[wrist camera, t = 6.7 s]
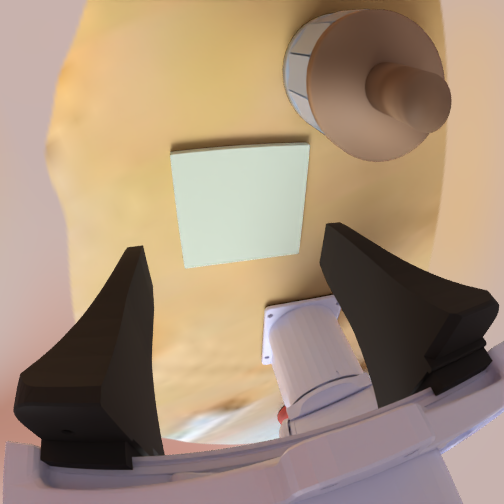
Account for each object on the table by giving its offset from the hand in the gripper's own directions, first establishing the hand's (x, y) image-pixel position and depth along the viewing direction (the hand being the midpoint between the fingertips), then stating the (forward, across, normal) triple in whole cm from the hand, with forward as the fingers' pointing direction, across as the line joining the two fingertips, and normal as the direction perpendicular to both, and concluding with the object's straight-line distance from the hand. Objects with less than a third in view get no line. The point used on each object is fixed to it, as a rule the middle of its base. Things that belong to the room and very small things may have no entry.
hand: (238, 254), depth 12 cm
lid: (+6, -9, -6) cm, 12 cm away
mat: (+10, -2, +4) cm, 11 cm away
